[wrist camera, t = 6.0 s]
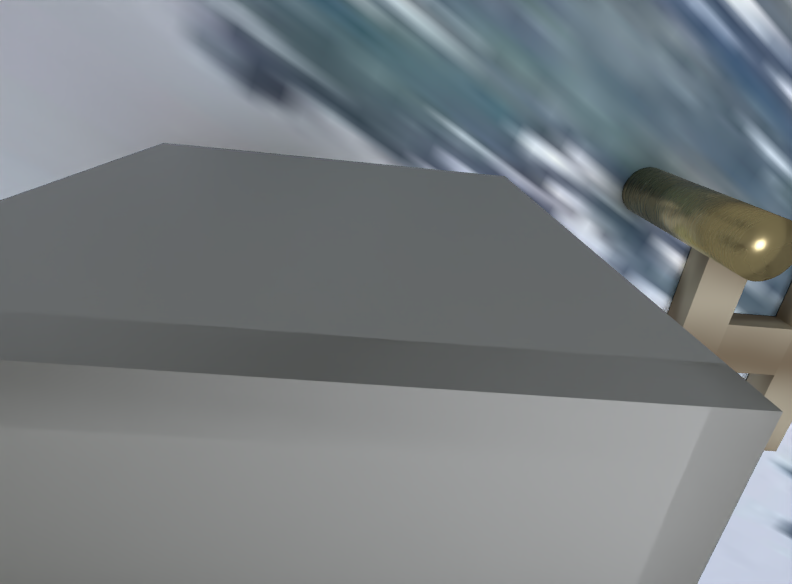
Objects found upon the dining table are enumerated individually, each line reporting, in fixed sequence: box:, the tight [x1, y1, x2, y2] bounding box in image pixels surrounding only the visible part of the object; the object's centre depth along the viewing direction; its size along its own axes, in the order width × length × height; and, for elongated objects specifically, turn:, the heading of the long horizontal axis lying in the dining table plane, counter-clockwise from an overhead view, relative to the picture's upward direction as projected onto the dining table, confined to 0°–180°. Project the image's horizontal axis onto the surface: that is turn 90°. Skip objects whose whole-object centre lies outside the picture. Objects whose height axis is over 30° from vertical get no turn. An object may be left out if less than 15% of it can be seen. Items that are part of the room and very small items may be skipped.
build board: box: [668, 248, 792, 451], centre depth 29 cm, size 14×9×2 cm, turn 174°
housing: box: [0, 143, 783, 584], centre depth 9 cm, size 10×7×8 cm
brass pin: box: [622, 167, 792, 281], centre depth 22 cm, size 2×2×9 cm
